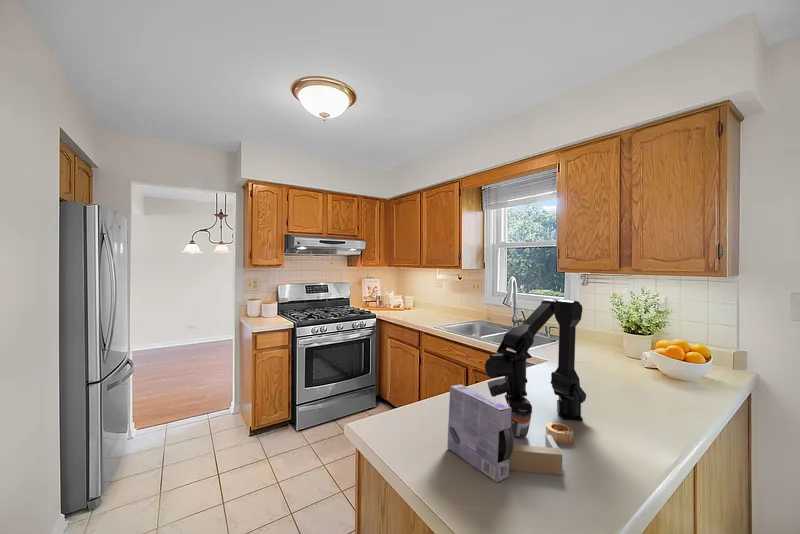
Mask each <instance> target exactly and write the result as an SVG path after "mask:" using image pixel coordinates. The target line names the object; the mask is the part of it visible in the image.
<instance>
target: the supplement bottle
mask: <svg viewBox="0 0 800 534" xmlns="http://www.w3.org/2000/svg"><path fill="white" fill-rule="evenodd" d="M526 411H527V410H519V412H520V413H515V412H511V430H512V435H513V438H518V439H523V438H525V437H527V435H528V434H529V429H530V424H531V420H532V419H531V418H532V413H531V414H527V413H525V412H526Z"/></svg>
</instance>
